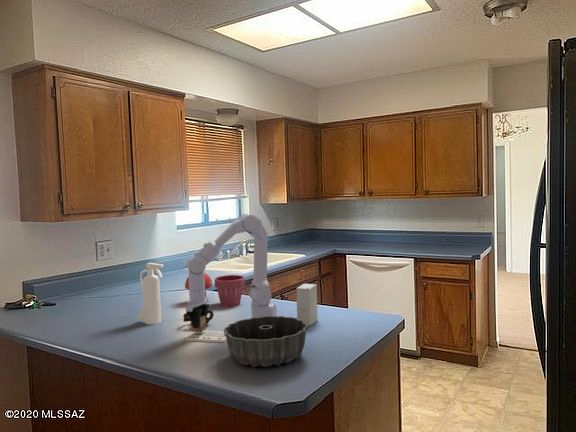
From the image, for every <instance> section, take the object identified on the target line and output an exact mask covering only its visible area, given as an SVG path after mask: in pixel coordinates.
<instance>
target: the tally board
mask: <svg viewBox="0 0 576 432" xmlns="http://www.w3.org/2000/svg"><path fill="white" fill-rule="evenodd" d="M185 341H186V342H205V343H206V342H207V343H221V344H222V343H227V339H226V336H224V330H206V329H205V330H204V331H202V332H192V334H190V335H188V336H187V337H186V338H185Z"/></svg>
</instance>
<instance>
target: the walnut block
mask: <svg viewBox="0 0 576 432" xmlns="http://www.w3.org/2000/svg"><path fill="white" fill-rule="evenodd" d="M206 329H207V327H206V320H205V316H202V315H200V325H199V328H193V326H192V322H191V321H190V332H191V333H194V332H202V331H204V330H205V331H206Z"/></svg>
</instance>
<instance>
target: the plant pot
mask: <svg viewBox="0 0 576 432" xmlns="http://www.w3.org/2000/svg"><path fill="white" fill-rule="evenodd" d="M245 282H246V281H245V276H243V275H238V274H229V275H228V274H227V275H226V274H225V275H220V276H216V277H215V278H214V287H215V288H216V290H217V294H218V298H219V303H220V306H222V307H235V306H238V305H241V301H242V295H243V294H242V293H243V289H244V286H245V284H246V283H245Z"/></svg>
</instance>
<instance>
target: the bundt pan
mask: <svg viewBox="0 0 576 432" xmlns="http://www.w3.org/2000/svg"><path fill="white" fill-rule="evenodd" d="M308 327H309V326H308V325H307V324H306V323H304V321H303V320H299V319H297V317H293V316H292V317H291V316H283V315H279V316H278V315H277V317H276V316H264V317H253V318H252V317H250V318H246V319H240V320H237V321H235V322H233V323H229V324H227V326H226V327H224V328H223V331H224V336H226V339H227V341H226V343H227V348H228V352H229V356H230V357H231V358H232V359H233V360H234V361H235V362H237V363H240V364H242V365H245V366H251V367H253V368H256V367H258V366H260V367H264V368H266V367H270V366H272V365H274V366H276V367H279V366H280V365H282V364H287V363H290V362H291V361H293V360H296V359H298V358H299V357H300V356H301V355H302V353H303V350H304V348H305V344H306V334H307V329H308Z"/></svg>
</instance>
